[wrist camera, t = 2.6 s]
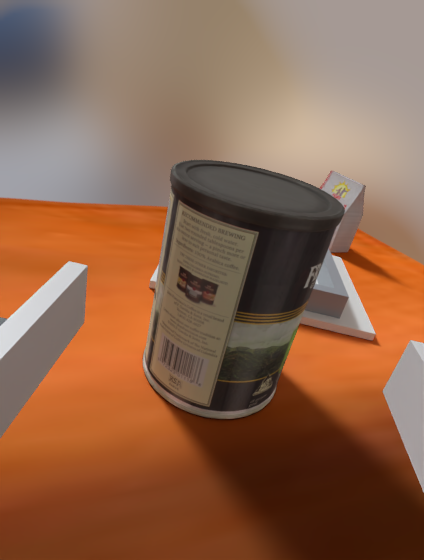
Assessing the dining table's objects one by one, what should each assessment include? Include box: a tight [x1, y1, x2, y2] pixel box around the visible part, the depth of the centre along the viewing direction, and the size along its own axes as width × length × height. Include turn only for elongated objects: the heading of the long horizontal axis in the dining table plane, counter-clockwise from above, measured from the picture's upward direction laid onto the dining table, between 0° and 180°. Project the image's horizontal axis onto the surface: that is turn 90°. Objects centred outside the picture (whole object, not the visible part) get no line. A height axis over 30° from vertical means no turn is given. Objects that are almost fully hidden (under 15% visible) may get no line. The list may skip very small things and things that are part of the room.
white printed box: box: [319, 171, 366, 252], centre depth 57 cm, size 4×7×10 cm, turn 26°
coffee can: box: [143, 160, 345, 419], centre depth 26 cm, size 10×10×14 cm
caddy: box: [149, 248, 376, 341], centre depth 45 cm, size 22×18×3 cm
